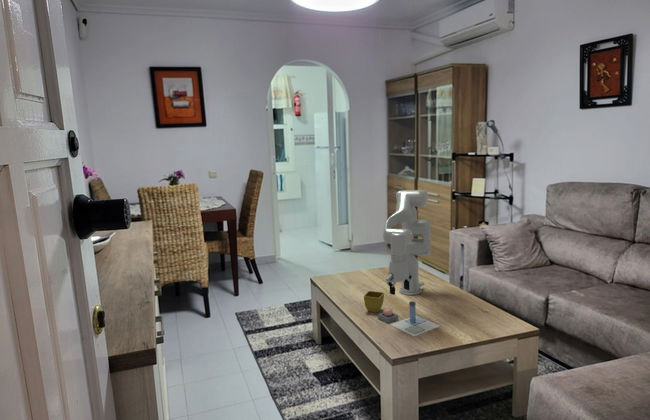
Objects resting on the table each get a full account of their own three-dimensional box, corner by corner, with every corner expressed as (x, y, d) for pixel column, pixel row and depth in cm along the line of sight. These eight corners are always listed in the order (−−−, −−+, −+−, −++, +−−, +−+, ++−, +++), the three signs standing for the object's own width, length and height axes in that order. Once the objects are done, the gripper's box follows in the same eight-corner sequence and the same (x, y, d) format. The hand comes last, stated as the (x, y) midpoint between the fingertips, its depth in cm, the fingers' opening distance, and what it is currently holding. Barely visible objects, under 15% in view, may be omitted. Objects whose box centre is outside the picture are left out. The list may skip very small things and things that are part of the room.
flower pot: (385, 308, 233) (384, 292, 231) (379, 314, 225) (379, 298, 223) (369, 306, 236) (368, 290, 235) (363, 312, 228) (363, 296, 227)
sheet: (415, 316, 221) (415, 315, 221) (440, 326, 208) (440, 325, 207) (390, 325, 212) (390, 324, 211) (414, 336, 198) (414, 335, 198)
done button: (388, 312, 221) (388, 307, 221) (394, 314, 218) (394, 309, 217) (381, 314, 219) (381, 309, 218) (387, 317, 215) (387, 312, 215)
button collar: (388, 315, 223) (388, 310, 223) (398, 319, 218) (398, 314, 217) (378, 318, 220) (378, 314, 219) (387, 323, 214) (387, 318, 213)
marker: (412, 320, 215) (412, 300, 213) (417, 322, 212) (416, 302, 211) (408, 321, 213) (407, 302, 212) (412, 323, 211) (412, 304, 209)
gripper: (405, 252, 218) (406, 285, 221) (380, 259, 209) (381, 294, 211) (417, 255, 212) (417, 289, 215) (391, 262, 202) (392, 298, 205)
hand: (399, 291), depth 213 cm, fingers open, 9 cm apart
